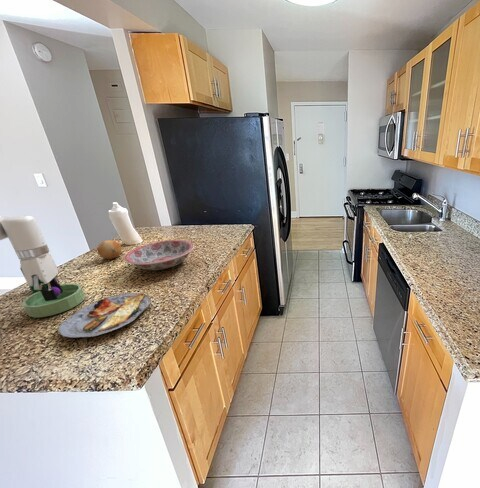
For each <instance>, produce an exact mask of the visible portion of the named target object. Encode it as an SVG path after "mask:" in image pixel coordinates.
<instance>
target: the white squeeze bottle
mask: <svg viewBox="0 0 480 488" xmlns="http://www.w3.org/2000/svg"><path fill="white" fill-rule="evenodd" d="M107 212H108V213H107V214H108V218H109V220H110V222H111V224H112V226H113V228H114V230H115V231H116V233H117V234H118V236H119V238H120V241H122V243H124V245H126V246H132V245H138V244H140V243H142V242H143V241H144V240H143V238H142V237H141V235H140V234H139V233H138V231H137V230H136V229H135V228H134V226H133V224H132V220H131V219H130V215H129V210H128V209H127V208H126V207H122V206H121V205H120V204H119V203H118V202H112V206H111V209H110V210H108V211H107Z"/></svg>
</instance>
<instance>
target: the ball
mask: <svg viewBox="0 0 480 488" xmlns="http://www.w3.org/2000/svg"><path fill="white" fill-rule="evenodd" d="M51 289H53V290H54V292H55V294H56V296H58V295H59V294H60V289H59V288H57V287H51Z"/></svg>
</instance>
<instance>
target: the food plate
mask: <svg viewBox="0 0 480 488" xmlns="http://www.w3.org/2000/svg"><path fill="white" fill-rule="evenodd" d="M151 303H152V300H151V299H150V298H149V297H148V295H146V294H145V293H144V292H142V293H130V292H129V293H121V294H116V295H113V296H108V297H103V298H101V299H99V300H98V301H95V302H92V303H90V304H87V305H86V306H83V307H81V308H80V309H79V310H77V311H76V312H74V313H73V314H72V315H70V316H69V317H68V318H67V319H65V320H64V321H63V322H61V323H60V325H59V326H58V328H57V332H58V334H59V335H61V336H62V337H66V338H75V339H76V338H82V339H83V338H91V337H97V336H100V335H103V334H107V333H110V332H113V331H115V330H117V329H120V328H123V327H125V326H126V325H128V324H130V323H131V322H133V321H135V320H136V319H137V318H138V317H139V316H140V315H141V314H142V313H143V312H144V311H145V310H146V309H147V308H148V307H149V306H150V305H151Z"/></svg>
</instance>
